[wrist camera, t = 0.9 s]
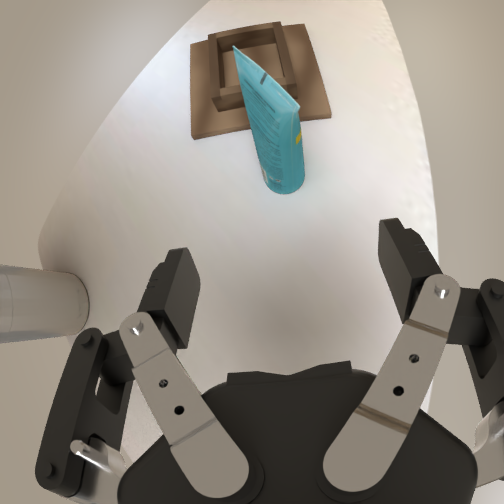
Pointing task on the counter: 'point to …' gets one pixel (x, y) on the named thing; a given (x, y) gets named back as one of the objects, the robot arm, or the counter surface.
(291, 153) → the tube
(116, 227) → the counter surface
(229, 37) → the socket board
